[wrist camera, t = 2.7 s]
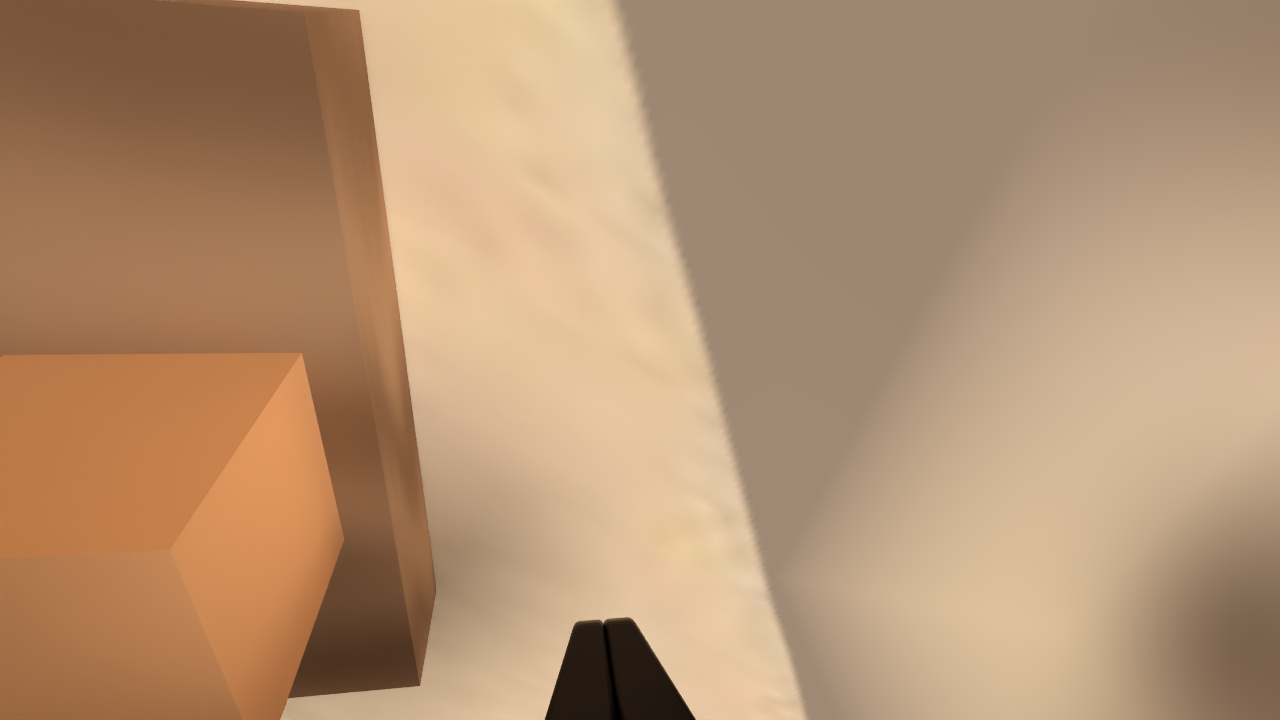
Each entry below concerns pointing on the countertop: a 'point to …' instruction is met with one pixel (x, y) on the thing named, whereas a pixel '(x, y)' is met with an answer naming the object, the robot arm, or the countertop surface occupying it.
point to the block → (159, 534)
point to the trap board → (226, 253)
